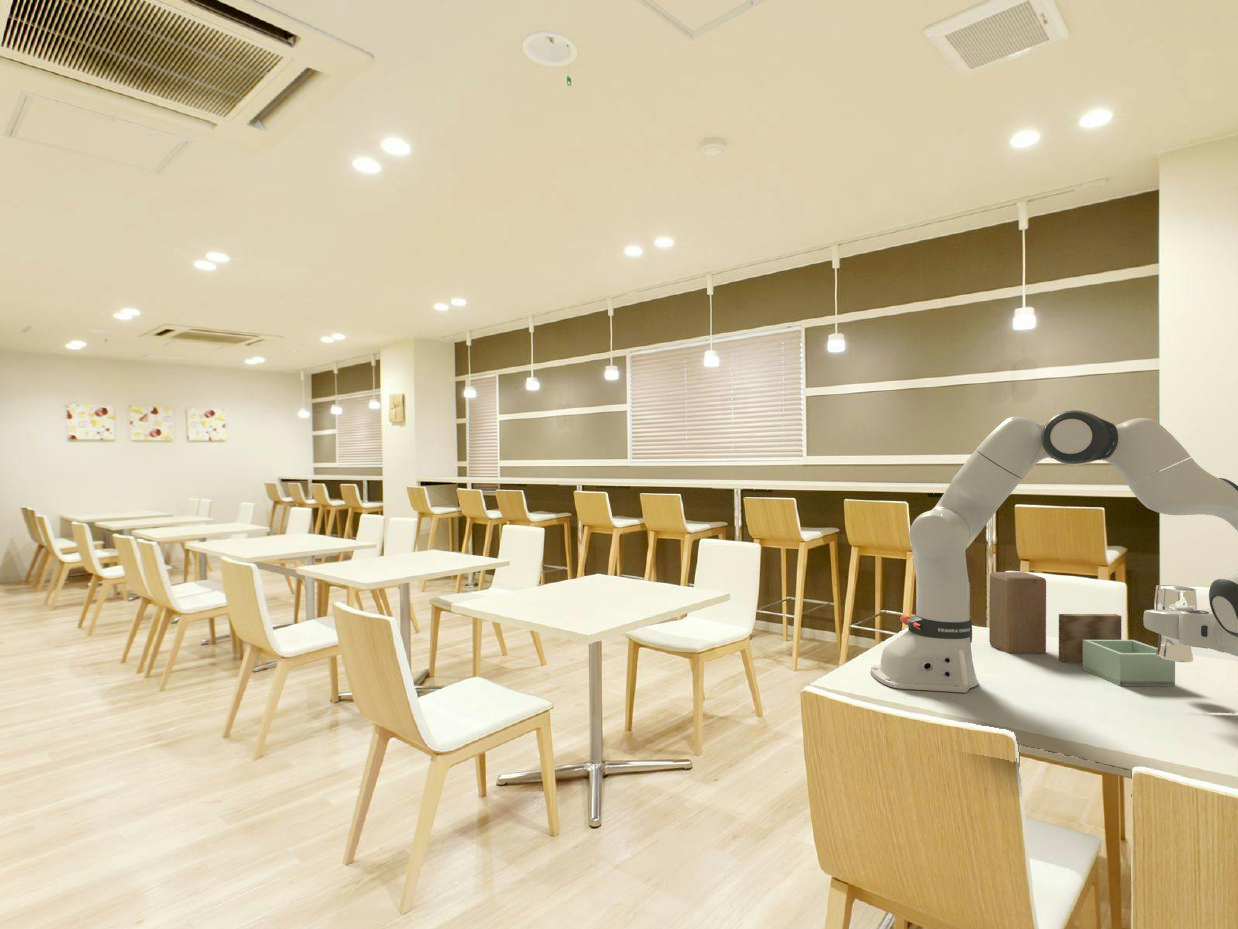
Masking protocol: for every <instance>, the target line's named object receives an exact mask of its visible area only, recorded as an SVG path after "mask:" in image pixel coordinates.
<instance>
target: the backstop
mask: <svg viewBox="0 0 1238 929" xmlns="http://www.w3.org/2000/svg"><path fill="white" fill-rule="evenodd" d="M1083 640H1122V615H1119V614H1116V613H1059V614H1058V661H1059V662H1061V663H1063V664H1083Z"/></svg>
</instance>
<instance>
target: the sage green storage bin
mask: <svg viewBox="0 0 1238 929" xmlns="http://www.w3.org/2000/svg"><path fill="white" fill-rule="evenodd" d="M1157 648H1158V647H1155V646H1152V645H1149V644H1146V643H1143V642H1141V641H1138V640H1135V639H1121V640H1083V663H1082V670H1083V671H1085V672H1088V673H1089V674H1093V675H1095V676H1096V677H1098V678H1101V679H1103V680H1106V681H1107V682H1110V683H1112V684H1114V685H1117V686H1118V687H1175V686H1176V662H1175V661H1170V660H1165V659H1162V658H1159V657H1157V656H1156V652H1157Z"/></svg>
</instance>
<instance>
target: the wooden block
mask: <svg viewBox="0 0 1238 929" xmlns="http://www.w3.org/2000/svg"><path fill="white" fill-rule="evenodd" d="M988 596H989V604H988V605H989V609H988V610H989V615H988V617H989V621H988V622H989V629H988V630H989V631H988V632H989V638H988V639H989V641H988V642H989V644H990V646H993V647H994V648H996V649H998V650H1000V651H1002V652H1005V653H1007V654H1011V655H1012V654H1017V655H1019V654H1020V655H1021V654H1026V655H1027V654H1033V655H1035V654H1037V655H1038V654H1039V655H1041V654H1046V653H1047V580H1046V578H1044V577H1043V576H1039V575H1034V574H1032V573H1028V572H1024V571H993V572H989V595H988Z"/></svg>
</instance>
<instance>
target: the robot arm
mask: <svg viewBox="0 0 1238 929" xmlns="http://www.w3.org/2000/svg"><path fill="white" fill-rule="evenodd" d="M1047 458H1049V459H1053V460H1055V461H1057V462H1059V463H1062V464H1064V465H1067V466H1084V465H1087V464H1090V463H1093V462H1096V461H1103V462H1106V463H1108V464H1109V465H1111V466H1112V467H1114V468H1115V469H1116V470H1115V471H1117V472H1118V474H1119V475H1120V476H1121V478H1122V479H1123V481H1124V482H1125V483H1126V485H1127V486H1128V487H1129V489H1130V491H1131V492H1132V494H1134V496H1135V497H1136V499H1137V500H1138V501H1139V502H1140V503H1141V504H1142V505H1144V507H1145V508H1147V509H1149V510H1151V511H1153V512H1156V513H1159V514H1162V515H1169V516H1193V515H1194V516H1195V515H1197V516H1198V515H1207V516H1213V517H1218V518H1220V519H1222V520H1224V521H1226V522H1227V523H1229V524H1230V525H1231V526H1232V527H1233V528H1234V529H1235V530H1236V531H1237V532H1238V484H1236V483H1235V482H1234V481H1231V480H1229V479H1227V478H1224V477H1222V478H1221V477H1217V476H1215V475H1213V474H1212V473H1210V472H1208V471H1207V470H1205V469H1204V468H1203V467H1201V465H1199V464H1198V463H1197V462H1196V461H1195V460H1194V458H1192V457H1191V455H1190V453H1189V452H1188V451H1187V449H1186V448H1184V446H1183V445H1182V444H1181V443H1180V441H1178V439H1176V437H1175V436H1174V435H1172V433H1170V432H1169V430H1167V429H1166V428H1165V427H1164V426H1163V425H1162V424H1161V423H1159V422H1158V421H1156V420H1154V419H1153V418H1150V417H1137V418H1132V419H1129V420H1126V421H1123V422H1121V423H1119V424H1114V423H1112V422H1110V421H1107V420H1105V419H1102V418H1101V417H1098V416H1097V415H1095V414H1093V413H1090V412H1087V411H1083V410H1073V409H1072V410H1065V411H1062V412H1060V413H1057V414H1055V415H1053V416H1052V417H1051V418H1050V419H1049V420H1048V421H1047V422H1046V423H1040V422H1037V421H1035V420H1032V419H1031V418H1028V417H1025V416H1019V415H1018V416H1011V417H1008V418H1006V419H1005V420H1003V422H1001V423H1000V424H999V425H998V426H996V427H995V428H994V429H993V430H992V431H991V432H990V433H989V434H988V435H987V436H986V437H985V439H983V440H982V442H981V443H980V444H979V445H978V446H977V447H976V449H974V451H973V452H972V454H971V455H970V456H969V458H968V459H967V460H966V461H965V462H964V464H963V465H962V466H961V468H960V469H959V470H958V472H957V473H956V474H955V475H954V476H953V478H952V480H951V481H950V483H949V485H948V486H947V488H946V490H945V491H944V493H943V494H942V496H941V497H940V499H939V500H938V502H937V503H936V504H935V506H934V507H933V508H932V509H931V510H927V511H925V512H923V513H921V514H919V515H918V516H917V517H916V518H915V519H914V520H913V522H912V524H911V526H910V528H909V534H908V535H909V536H908V537H909V541H910V545H911V554H912V561H913V568H914V573H915V574H914V575H915V582H916V583H915V589H916V590H915V591H916V596H915V597H916V598H915V600H916V611H915V612H916V613H915V614H914V615H913V616H912V617H910V616H908V615H906V614H902V615H901V616H900V617H899V620H900V622H901V624H904V625H906V626H908V627H907V628H908V630H907V631H906V632H904V633H903V634H902V635H900V636H899V637H897V638H895V639H894V640H893V641H890V643H888V644H887V645H885V647H884V648H883V650H882V653H881V658H880V664H878V665H876V664H875V665H872V666H871V667H870V674H871V676H872V677H873V678H874V679H875V680H877V681H878V682H879V683H880V684H881V683H882V684H883V685H886V686H888V687H891V688H894V689H901V690H902V689H903V690H918V691H919V690H920V691H921V690H922V691H935V692H951V693H968V692H969V689H971V688H974V687H976V686H977V685H979V681H978V678H977V675H976V671H975V667H974V661H973V655H972V642H973V622H972V621H973V620H972V619H971V583H970V581H969V580H970V579H969V575H968V567H967V566H968V565H967V556H966V550H967V549H968V548H969V547H970V546H971V544H972V543H973V542H974V541H975V539H976V538H977V537H978V536H979V534H980V533H981V532H982V531H983V529H984V528H986V525H987V524H988V523H989V522H990V520H991V519H992V517H993V516H994V515H995V513H996V512H997V511H998V509H999V508H1000V507H1001V506H1002V504H1003V503H1004V502H1005V501H1006V499H1008V497H1009V496H1010V495H1011V494H1012V492H1013V491H1014V490H1015V489H1016V487H1017V486H1018V485H1019V484H1020V483H1021V482H1022V481H1023V480H1024V479H1025V477H1026V476H1027V475H1028V474H1029V472H1030V471H1031V470H1032V468H1034V467H1035V466H1036V465H1037V464H1038V463H1039V462H1041V461H1042V460H1044V459H1047ZM1208 602H1209V606H1210V608H1203V609H1200V610H1198V609H1197V610H1196V611H1172V610H1155V609H1146V610H1144V612H1143V626H1144V628H1145V629H1147V630H1148V631H1150V632H1153V633H1156V634H1158V635H1159V634H1161V635H1163V636H1166V637H1169V638H1173V639H1178V640H1179V642H1180V643H1181V644H1183V645H1186V646H1191V648H1192V647H1193V648H1200V649H1201V648H1202V649H1210V650H1212V651H1213V650H1214V651H1216V652H1220V653H1226V654H1229V655H1231V656H1235V657H1238V569H1237V570H1235V571H1233V572H1230V573H1228V574H1226V575H1224V576H1222V577H1219V578H1217V579H1215V580H1214V581H1213V582H1211V585H1210V586H1209V591H1208Z"/></svg>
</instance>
